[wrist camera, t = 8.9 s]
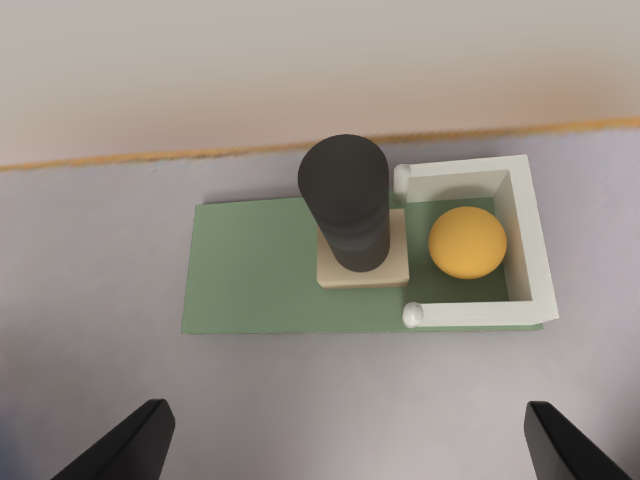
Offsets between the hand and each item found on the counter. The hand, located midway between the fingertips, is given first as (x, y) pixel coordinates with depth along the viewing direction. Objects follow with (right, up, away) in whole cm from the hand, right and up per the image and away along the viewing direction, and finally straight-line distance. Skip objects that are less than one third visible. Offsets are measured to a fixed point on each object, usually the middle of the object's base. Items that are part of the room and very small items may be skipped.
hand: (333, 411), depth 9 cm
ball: (+8, +4, +11) cm, 14 cm away
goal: (+8, +4, +13) cm, 16 cm away
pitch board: (+1, +3, +15) cm, 15 cm away
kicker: (+2, +3, +14) cm, 14 cm away
